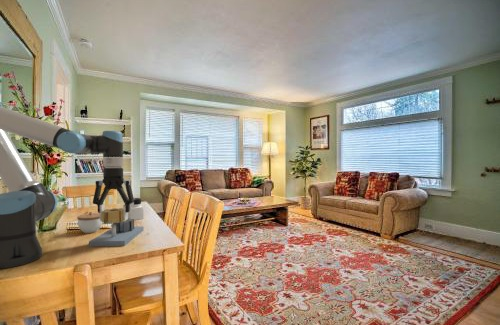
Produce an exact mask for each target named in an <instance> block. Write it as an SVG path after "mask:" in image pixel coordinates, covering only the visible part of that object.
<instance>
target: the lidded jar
mask: <svg viewBox="0 0 500 325" xmlns="http://www.w3.org/2000/svg"><path fill="white" fill-rule="evenodd" d="M76 218H77V225H78V226H77V227H78V228H79V231H82V232H83V233H84V234H92V233H96V232H98V231H99V230H100V229H101V227H102V226H103V224H104V222H102V221H100V213H98V212H92V211H90V212H89V213H85V214H80V215H78V216H77V217H76Z"/></svg>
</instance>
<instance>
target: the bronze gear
mask: <svg viewBox="0 0 500 325" xmlns="http://www.w3.org/2000/svg"><path fill="white" fill-rule="evenodd" d="M122 221H123V207H121V208H115V207H114V208H110V209H109V208H107V209H106V208H105V210H104V211H102V222H103V224H113V223H116V222H122Z"/></svg>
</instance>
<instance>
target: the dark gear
mask: <svg viewBox="0 0 500 325" xmlns="http://www.w3.org/2000/svg"><path fill="white" fill-rule="evenodd" d="M112 225H116V233H120V232H124V233H125V232H127V231H133V229H134V227H135V220H134V219H131V218H128V219H127V220H126V221H122V222H116V223H112Z"/></svg>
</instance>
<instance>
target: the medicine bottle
mask: <svg viewBox="0 0 500 325" xmlns="http://www.w3.org/2000/svg"><path fill="white" fill-rule="evenodd" d="M144 210H145V209H144V206H142V199H141V198H140V197H134V202H133V203H131V204H130V211H129V212H128V218H131V219H134V221H139V220H143V219H144V216H145V215H144V214H145V213H144Z"/></svg>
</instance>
